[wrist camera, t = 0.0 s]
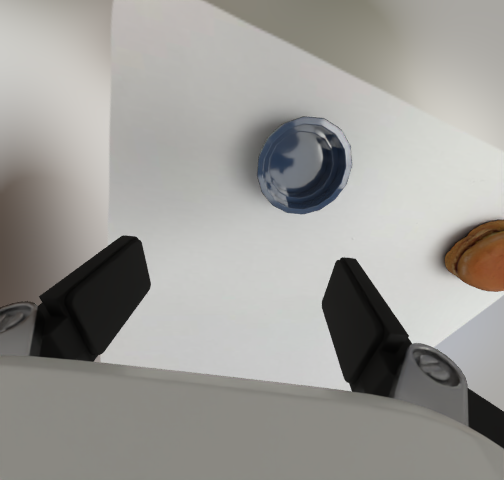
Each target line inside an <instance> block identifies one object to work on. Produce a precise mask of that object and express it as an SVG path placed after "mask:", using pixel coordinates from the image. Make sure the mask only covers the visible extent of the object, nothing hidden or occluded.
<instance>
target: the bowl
mask: <svg viewBox="0 0 504 480" xmlns="http://www.w3.org/2000/svg"><path fill="white" fill-rule="evenodd" d="M351 168H352V157H351V146H350V144H349V142H348V140H347V139H346V137H345V135H344V133H343V132H342V130H341V129H340V128H339V127H337V126H336V125H334V124H332V123H331V122H329V121H328V120H326V119H324V118H316V117H305V116H304V117H300V118H298V119H295V120H292V121H289V122H287V123H284V124H281V125H280V126H279V127H278V128H277V129H276V130H274V131H273V132H272V133H271V134H270V135H269V136H268V137H267V139H266V141H265V143H264V145H263V147H262V149H261V151H260V154H259V159H258V171H257V177H258V181H259V184H260V187H261V191H262V193H263V194H264V196H265V197H266V198H267V199H268V200H269V202H270V203H271V204H272V205H273V206H275V207H277V208H279V209H281V210H283V211H285V212H287V213H295V214H306V213H310V212H314V211H317V210H320V209H322V208H323V207H325V206H326V205H328V204H329V203H331V202H332V201H334V200H335V199H336V197H337V196H338V195H339V193H340V192H341V191H342V189H343V188H344V187H345V185H346V184H347V181H348V178H349V174H350V171H351Z"/></svg>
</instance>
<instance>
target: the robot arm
mask: <svg viewBox="0 0 504 480" xmlns="http://www.w3.org/2000/svg"><path fill="white" fill-rule="evenodd" d="M150 286H151V282H150V278H149V273H148V269H147V264H146V260H145V255H144V251H143V246H142V242H141V241H140V240H138V238H137V237H134V236H121V237H120V238H118V239H117V240H115V241H114V242H113V243H111V244H110V245H109V246H107V247H106V248H105V249H103V250H102V251H100V252H99V253H98V254H96V255H95V256H94V257H92V258H91V259H90V260H88V261H87V262H85V263H84V264H83V265H81V266H80V267H79V268H77V269H76V270H75V271H73V272H72V273H70V274H69V275H68V276H66V277H65V278H64V279H62V280H61V281H60V282H58V283H57V284H55V285H54V286H53V287H52V288H50V289H49V290H47V291H46V292H45V293H43V294H42V295H40V296H39V297H40V299H41V301H42V303H41V304H40V305H39V306H37V305H36V304H35V303H33V302H28V301H27V302H17V303H12V304H9V305H6V306H3V307H0V480H504V411H502V410H500V409H499V408H497V407H496V406H494V405H493V404H491V403H490V402H488V401H487V400H485V399H484V398H482V397H481V396H479V395H478V394H476V393H475V392H473V391H472V390H470V389H469V388H468V387H467V381H466V378H465V376H464V374H463V373H462V371H461V370H460V368H459V367H458V366H457V365H456V364H455V363H454V362H453V361H452V360H451V359H450V358H448V357H447V356H446V355H445V354H443V353H442V352H440V351H439V350H437V349H435V348H433V347H431V346H428V345H425V344H421V343H414V344H412V343H411V341H410V340H409V338H408V337H409V335H408V334H407V332H406V331H405V330H404V328H403V327H402V325H401V324H400V322H399V321H398V319H397V318H396V317H395V315H394V314H393V312H392V311H391V309H390V308H389V306H388V305H387V303H386V302H385V301H384V299H383V298H382V296H381V295H380V293H379V292H378V290H377V289H376V288H375V286H374V285H373V283H372V282H371V280H370V279H369V277H368V276H367V275H366V273H365V272H364V270H363V269H362V267H361V266H360V264H359V263H358V262H357V260H356V259H353V258H343V257H342V258H341V259H340V260H337V261H336V263H335V266H334V269H333V272H332V274H331V277H330V280H329V283H328V286H327V289H326V292H325V295H324V298H323V300H322V309H323V312H324V316H325V319H326V322H327V325H328V328H329V332H330V335H331V338H332V341H333V344H334V348H335V351H336V354H337V357H338V360H339V364H340V367H341V370H342V373H343V376H344V379H345V381H346V382H348V383H349V384H350V387H351V390H352V392H351V391H344V390H336V389H329V388H322V387H313V386H305V385H296V384H288V383H279V382H271V381H262V380H254V379H245V378H236V377H227V376H218V375H209V374H201V373H192V372H183V371H174V370H165V369H156V368H146V367H137V366H127V365H118V364H108V363H99V362H94V360H95V359H96V357H97V356H98V355H100V354H102V353H103V352H104V351H105V350H106V348H107V347H108V346H109V344H110V343H111V342H112V340H113V339H114V337H115V336H116V335H117V333H118V332H119V331H120V329H121V328H122V327H123V325H124V324H125V322H126V321H127V320H128V318H129V317H130V316H131V314H132V313H133V311H134V310H135V309H136V307H137V306H138V305H139V303H140V302H141V301H142V299H143V298H144V296H145V295H146V294H147V292H148V291H149V289H150Z"/></svg>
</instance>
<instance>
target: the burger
mask: <svg viewBox="0 0 504 480" xmlns="http://www.w3.org/2000/svg"><path fill="white" fill-rule="evenodd" d="M445 265H446V268H447V269H448V271H450V272H451V273H452V274H454V275H456V276H457V277H458V278H460V279H461V280H462V281H463V282H465V283H467V284H469V285H471V286H473V287H476V288H478V289H481V290H485V291H494V292H498V291H504V220H497V221H495V222H493V221H491V222H488V223H485V224H483V225H480V226H478V227H477V228H475V229H473V230H472V231H471V232H469V234H468V236H467V237H465V238H463V239H462V240H460V241H458V242H457V243H456V244H455V246H453V247H452V248H451V250H450V251H449V252H448V253H447V254H446V256H445Z"/></svg>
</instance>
